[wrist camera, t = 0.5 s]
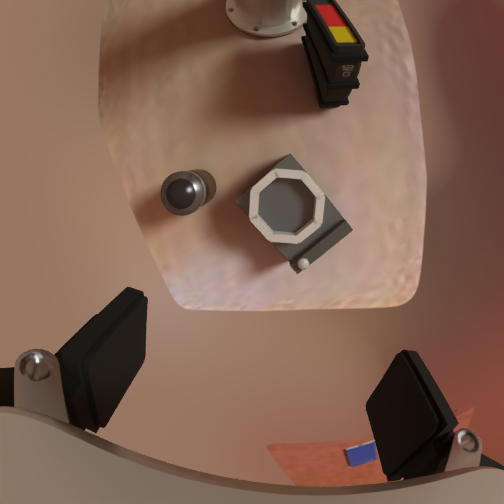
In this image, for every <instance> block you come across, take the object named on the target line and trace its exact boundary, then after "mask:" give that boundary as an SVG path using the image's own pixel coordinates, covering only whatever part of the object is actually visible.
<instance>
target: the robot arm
mask: <svg viewBox="0 0 504 504" xmlns="http://www.w3.org/2000/svg"><path fill="white" fill-rule="evenodd" d="M302 2H306V0H226V4H225V5H226V12H227V15H228V17H229V19H230V21H231V22H232V23H233V24H234V25H235V26H236V27H237V28H238V29H240V30H242V31H244V32H246V33H249V34H251V35H255V36H261V37H277V36H282V35H287V34H289V33H292V32H294V31H296V30H297V29H299V28H300V27H301V26H303V23H305V22H306V21H307V13H306V11H305V10H304V8H303V5H302ZM232 11H233V12H232ZM293 25H295V26H293ZM256 30H258V31H256ZM147 304H148V299H147V297H145V296H144V293H143V291H139V290H136V289H134V288H131V287H127V288H125V289H124V290H123V291H122V292H121V293H120V294H119V295H118V296H117V297H116V298H115V299H113V301H111V302H110V303H109V304H108V305H107V306H106V307H105V308H104V309H103V310H102V311H101V312H100V313H99V314H96V315H95V316H94V317H92V318H91V319H90V320H89V321H88V322H87V323H86V324H85V325H84V326H83V327H82V328H81V329H80V330H79V331H78V332H77V333H76V334H75V335H74V336H73V337H72V338H71V339H70V340H69V341H68V342H66V343H65V344H64V346H62V347H61V348H60V350H59V351H58V352H57V353H56V354H55V355H53V354H52V353H50V352H49V351H46V350H43V349H32V350H28V351H26V352H24V353H22V354H21V355H20V356H19V357H18V359H17V360H16V363H15V367H12V368H0V504H504V466H502V465H501V464H499V463H497V462H495V461H494V460H492V459H490V458H489V457H487V456H485V455H483V454H482V453H481V451H482V443H481V440H480V438H479V437H478V435H477V434H476V433H475V432H474V431H472V430H471V429H469V428H459V429H458V430H457V431H456V432H455V433H454V431H453V429H454V428H455V427H456V426H457V425H458V421H457V419H456V417H455V415H454V414H453V412H452V410H451V408H450V406H449V404H448V403H447V401H446V399H445V398H444V396H443V394H442V392H441V391H440V389H439V387H438V385H437V384H436V382H435V380H434V379H433V377H432V375H431V374H430V372H429V370H428V369H427V367H426V366H425V364H424V362H423V361H422V359H421V358H420V356H419V354H418V353H417V352H416V351H408V350H402V351H401V352H400V353H398V354H397V355H396V356H395V358H394V360H393V361H392V363H391V365H390V366H389V368H388V370H387V371H386V373H385V375H384V376H383V378H382V380H381V381H380V383H379V384H378V386H377V387H376V389H375V390H374V392H373V393H372V395H371V396H370V398H369V399H368V401H367V403H366V411H367V414H368V417H369V421H370V424H371V428H372V431H373V435H374V439H375V442H376V446H377V450H378V454H379V458H380V461H381V465H382V469H383V473H384V474H385V475H386V476H387V480H388V482H387V483H379V484H368V485H355V486H292V485H278V484H268V483H260V482H251V481H245V480H239V479H233V478H227V477H222V476H217V475H212V474H208V473H204V472H199V471H195V470H191V469H187V468H184V467H180V466H177V465H173V464H170V463H167V462H163V461H161V460H157V459H155V458H152V457H148V456H146V455H143V454H140V453H137V452H134V451H132V450H129V449H126V448H124V447H121V446H119V445H116V444H114V443H112V442H109V441H107V440H105V439H103V438H100V437H98V436H95V435H93V434H91V433H88V432H86V431H85V429H86V428H87V429H89V430H91V431H93V432H95V433H97V430H98V429H99V428H100V427H102V428H104V427H105V426H106V425H107V423H108V422H109V420H110V418H111V416H112V415H113V413H114V411H115V409H116V408H117V406H118V404H119V403H120V401H121V399H122V398H123V396H124V394H125V392H126V391H127V389H128V387H129V386H130V384H131V382H132V381H133V379H134V378H135V376H136V374H137V373H138V371H139V369H140V368H141V366H142V364H143V362H144V359H145V351H146V350H145V349H146V322H147ZM402 477H403V478H404V480H401V481H396V480H400V479H401V478H402ZM389 481H394V482H389Z"/></svg>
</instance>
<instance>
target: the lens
mask: <svg viewBox="0 0 504 504" xmlns="http://www.w3.org/2000/svg"><path fill="white" fill-rule="evenodd" d="M215 192H216V182H215V180H214V178H213V176H212V175H211V174H210V173H209V172H207V171H205V170H200V169H197V170H189V171H180V172H176V173H173V174H171V175H170V176H168V177H167V178H166V180H165V181H164V183H163V185H162V188H161V199H162V202H163V204H164V206H165V207H166V209H167V210H168V211H170V212H171V213H173V214H175V215H181V216H183V215H188V214H191V213H193V212H195V211H196V210H198V209H199V208H200V207H202V206H203V205H205V204H206V203H208V202H209V201H210V200H211V199H212V198H213V197H214V195H215Z"/></svg>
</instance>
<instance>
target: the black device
mask: <svg viewBox="0 0 504 504" xmlns="http://www.w3.org/2000/svg"><path fill="white" fill-rule="evenodd" d="M302 5H303V8H304V10H305V11H306V13H307V23H303V28H304V30H305V32H306V36H302V37H301V39H302V42H303V45H304V49H305V52H306V55H307V59H308V62H309V66H310V70H311V74H312V78H313V82H314V86H315V90H316V94H317V99H318V103H319V107H320V108H329V107H339V106H340V105H347V104H348V103H349V101H348V96H349V95H350V93H351V90H352V89H358V88H359V85H360V83H359V81H358V78H357V76H358V74H359V71H360V66H361V62H362V61H368V57H369V56H368V54H367V52H366V51H365V49H364V48H365V43H364V41H363V40H362V38H361V37H360V35H359V34H358V32H357V30H356V29H355V27H354V26H353V24H352V23H351V22H350V20H349V19H348V17H347V16H346V14H345V13H344V12H343V10H342V9H341V8H340V6H339V5H338V4H337V2H336V1H335V0H306V2H302Z"/></svg>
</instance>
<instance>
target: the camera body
mask: <svg viewBox="0 0 504 504" xmlns="http://www.w3.org/2000/svg"><path fill="white" fill-rule="evenodd" d="M235 202H236V203H237V204H238V205H239V206H240V208H241V209H242V210H243V211H244V212H245V213H246V214H247V215H248V216H249V218H250V221H251V222H252V223H253V224H254V225H255V227H256V228H257V229H258V230H259V231H260V232H261V233H262V234H263V235H264V237H265V238H266V239H267V240H268V241H269V240H270V242H272V243H273V244H274V245H275V247H276V248H277V249H278V250H279V251H280V252H281V253H282V254H283V256H284V257H285V258H286V259H287V260H288V261H289V262H290V266H291V267H292V269H293V270H294V271H295V272H296V273H297V274H298V273H300V272H301V271H302V270H305V269H307V268H308V267H309V265H310V264H311V263H313V262H314V261H315V260H316V259H318V258H319V257H320V256H321V255H323V254H324V253H325V252H326V251H328V250H329V249H330V248H331V247H333V246H334V245H335V244H336V243H338V242H339V241H340V240H341V239H343V238H344V237H345V236H346V235H348V234H349V233H350V232H351V231H352V230H353V229H352V228H351V227H350V225H349V224H348V223H347V221H346V220H345V219H344V218H343V217H342V216H341V214H340V213H339V212H338V211H337V209H336V208H335V207H334V205H333V204H332V203H331V202H330V200H329V199H328V198H327V197H326V195H325V194H324V193H323V192H322V190H321V189H320V188H319V187H318V186H317V184H316V183H315V182H314V181H313V179H312V178H311V177H310V176H309V175H308V174H307V172H306V171H305V170H304V169H303V168H302V166H301V165H300V164H299V163H298V162H297V161H296V160H295V158H294V157H293V156H292V155H291V154H289V155H287V156H286V157H285V158H284V159H282V160H281V161H280V162H279V163H278V164H277V165H275V166H274V167H273V168H272V169H271V170H269V171H268V172H267V173H266V174H265V175H264V176H263V177H261V178H260V179H259V180H258V181H257V182H256V183H254V184H253V185H252V186H251V187H250V188H249V189H248V190H246V191H245V192H244V193H243V194H242V195H241V196H240V197H239V198H238V199H237V200H236V201H235Z"/></svg>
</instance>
